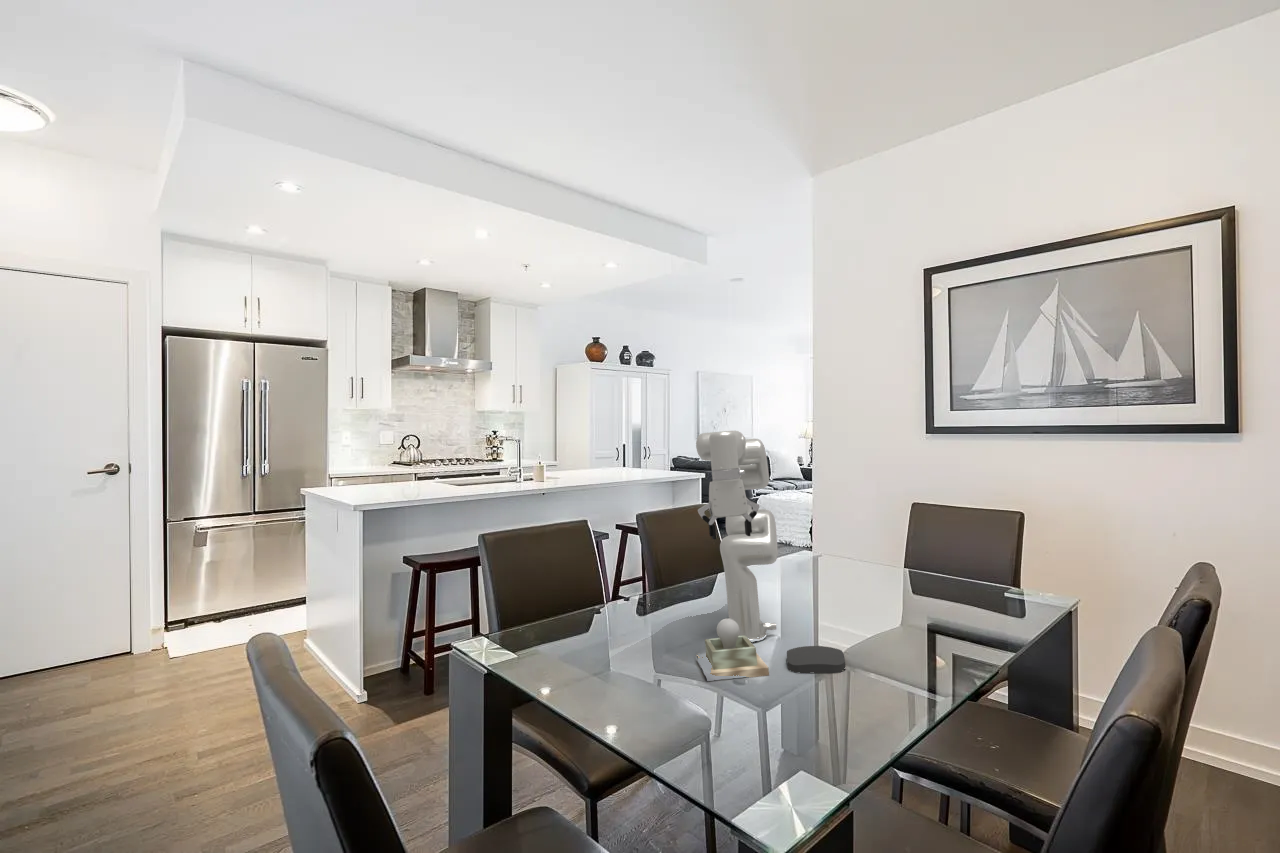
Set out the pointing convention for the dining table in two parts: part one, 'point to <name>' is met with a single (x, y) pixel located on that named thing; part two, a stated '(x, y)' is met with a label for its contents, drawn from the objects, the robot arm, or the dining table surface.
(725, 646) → the lightbulb
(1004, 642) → the dining table surface
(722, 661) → the base
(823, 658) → the media streaming box
